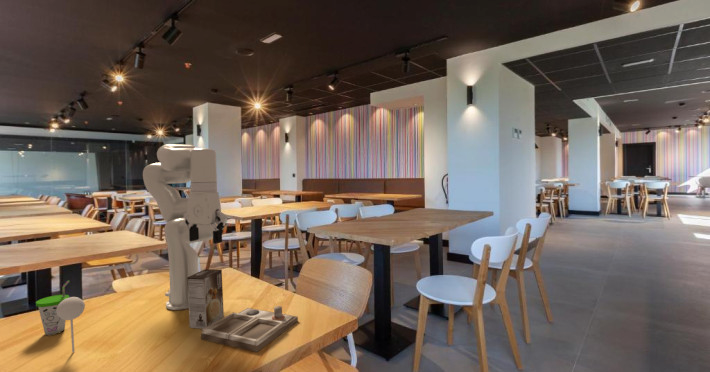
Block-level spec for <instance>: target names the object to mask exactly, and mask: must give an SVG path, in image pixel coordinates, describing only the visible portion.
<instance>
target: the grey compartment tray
mask: <svg viewBox="0 0 710 372" xmlns="http://www.w3.org/2000/svg"><path fill="white" fill-rule="evenodd" d="M273 310H274V311H269V310H263V309H256V308H251V307H247V308H245V309H243V310H241V311H239V312H232V313H230V314H228V315H226V316H224V317H223V318H221V319H220V320H219V321H217V322H215V323H213V324H211V325H209V326H207V327H206V328H204V329H201V333H200V339H201V340H203V341H208V342H211V343H217V344H219V345H220V344H221V345H224V346H229V347H233V348H237V349H242V350H245V351H246V350H247V351H250V352H255V353H258V352H260V351H261V350H262V349H263V348H264V347H266V346H268V345H269V344H270V343H271V342H273V340H275V339H276V338H278V337H279V336H281V334H283V333H284V332H286V331H287V330H289V329H290V328H291V327H292V326H294V325H295V324H296V323H298V322H299V317H298V315H297V316H296V315H291V314H284V313H283V307H282V306H281V305H277V306H274V307H273Z"/></svg>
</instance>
